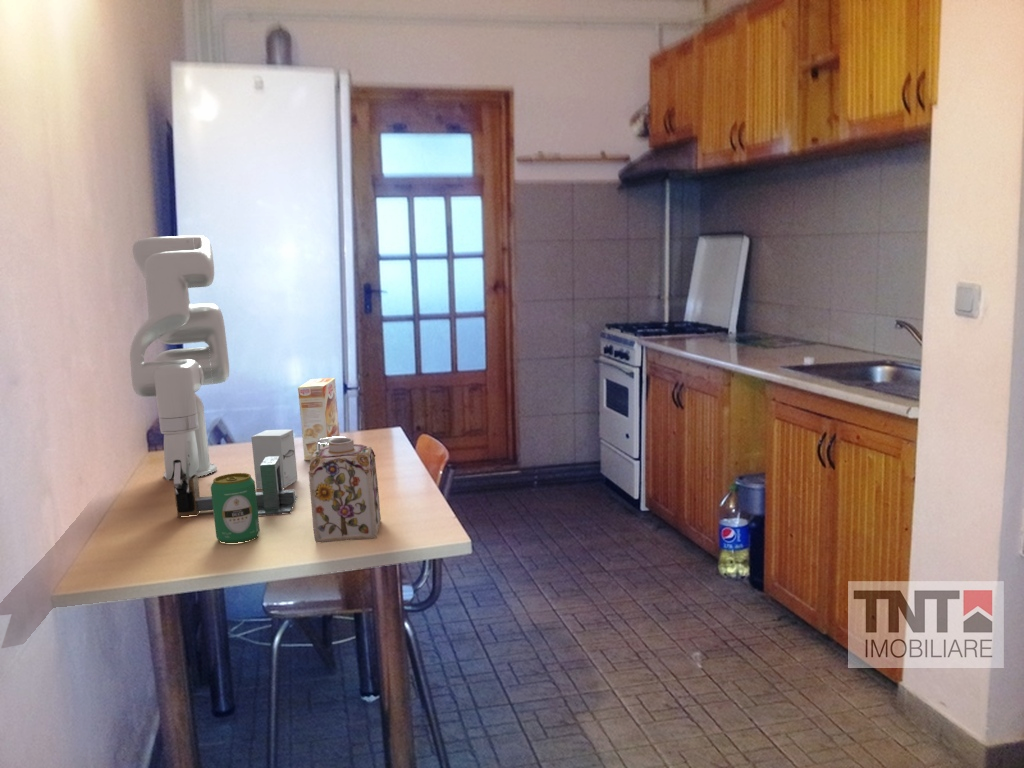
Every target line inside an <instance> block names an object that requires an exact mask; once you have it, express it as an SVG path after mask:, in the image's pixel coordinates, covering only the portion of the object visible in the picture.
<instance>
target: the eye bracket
mask: <svg viewBox="0 0 1024 768" xmlns="http://www.w3.org/2000/svg"><path fill="white" fill-rule="evenodd" d="M260 470H261V480H262V489H261V490H262V492H263V499H264V506H257V509H258V515H266V516H274V515H273V514H277V515H283V514H282V513H288V514H291V513H290V512H292V510H293V508H292V507H294V506H295V503H289V504H280V499H279V490H284V489H283V484H282V474H281V464H280V456H273V457H265V459H264V460H263V462H262V463H261V465H260ZM296 498H298V495H297V494H295V499H296ZM296 500H297V499H296ZM293 505H294V506H293Z"/></svg>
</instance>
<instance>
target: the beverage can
mask: <svg viewBox="0 0 1024 768" xmlns="http://www.w3.org/2000/svg"><path fill="white" fill-rule="evenodd" d="M256 490H257V489H256V480H254V479H253V477H251V474H249V473H247V472H246V473H245V472H237V473H235V472H234V473H228V474H223V475H220V476H217V477H215V478H213V482H212V483H211V486H210V492H211V493H210V494H211V496H212V503H213V510H212V511H213V519H214V521H213V522H214V528H215V536H216V537H215V538H216V539H217V540H218V541H221V542H225V543H238V542H245V541H249V540H252V539H254V538H256V537H257V535H259V533H260V531H261V529H260V521H259V520H260V519H259V516H258V509H257V500H256V492H257V491H256ZM257 538H258V537H257ZM257 538H256V539H257ZM254 540H255V539H254ZM252 541H253V540H252Z"/></svg>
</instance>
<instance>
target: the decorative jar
mask: <svg viewBox="0 0 1024 768" xmlns="http://www.w3.org/2000/svg"><path fill="white" fill-rule="evenodd" d="M309 461H310V463H309V466H308V467H309V468H308V469H309V470H308V473H307V474H308V478H309V479H308V480H309V492H310V493H309V494H310V503H311V505H310V506H311V518H312V528H313V538H314V541H315V542H316V543H317V542H321V543H331V542H341V541H342V542H343V541H345V542H346V541H355V540H356V541H357V540H367V539H376V538H377V537H378V532H379V529H380V526H381V521H382V518H381V508H380V504H381V503H380V495H379V493H380V492H379V484H378V483H379V482H378V475H377V473H378V472H377V466H376V454H375V451H374V450H373V448H372V447H371V446H368V445H365V444H358V443H357V444H355V443H354V439H353V438H350V437H346V438H338V439H332V440H330V441H329V447H327V448H323V449H320V450H317V451H314V453H313V454H312V455H311V460H309Z"/></svg>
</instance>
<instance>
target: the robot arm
mask: <svg viewBox="0 0 1024 768" xmlns="http://www.w3.org/2000/svg"><path fill="white" fill-rule="evenodd" d="M132 256H133V259H134V261H135V263H136V266H137V267H138V270H139V271H140V273H141V274H142V276H143V278H144V280H145V291H146V300H147V301H146V303H147V312H148V317H147V320H146V321H145V322H144V323H143V324H142V326H140V328H139V329H138V330H137V332H136V334H135V335H134V337H133V339H132V342H131V345H130V351H129V362H130V363H129V365H130V377H131V383H132V384H131V385H132V388H133V391H134V393H135V394H136V395H137V396H139V397H141V398H147V399H148V398H156V404H157V405H156V406H157V413H158V421H159V422H158V423H159V430H160V434H162V435H163V456H164V457H163V458H164V460H163V461H164V470H165V471H164V472H163V475H164V478H165V480H167V481H168V482H170V481H172V480H173V481H174V484H173V487H174V486H175V491H176V500H177V508H178V512H179V513H181V512H192V511H194V503H193V494H192V492H190V478H191V477H192V476H193V475H197V476H198V478H200V476H201V477H204V476H203V475H205V476H207V475H206V474H209V473H211V474H213V473H212V472H214V471H215V472H216V471H217V470H218V465H217V464H216V463H212V462H211V461H210V453H209V443H208V441H209V440H208V435H207V425H206V416H205V409H204V408H205V407H204V402H203V401H202V399H201V397H200V396H199V395H198V394H196V392H198V391H200V389H201V387H202V386H209V385H210V386H211V385H218V384H222V383H223V384H224V383H225V382H226V381H227V380H228V378H229V377H230V363H229V360H230V359H229V352H228V343H227V336H226V327H225V320H224V315H223V312H222V311H221V309H220V307H219V306H218V305H216V304H215V303H194V304H193V303H191V302H190V294H189V289H191V288H206V287H210V286H212V283H214V278H215V262H214V254H213V249H212V244H211V242H210V240H209V239H208V238H207V237H205V236H204V235H192V234H191V235H176V236H175V235H174V236H172V235H171V236H168V235H167V236H154V237H153V236H152V237H146V238H140V239H138V240H137V241H135V242H134V243H133V245H132ZM157 340H159V342H160V343H162V344H165V345H183V344H186V345H187V344H197V343H205V344H206V345H207V346H200V347H188V348H187V347H186V348H175V349H169V350H168V349H167V350H165V351H162V352H160V353H159V354H157V356H156V357H155V358H154V361H150V362H149V361H147V362H145V354H146V351H147V349H148V347H150V345H151V344H152V343H153V342H155V341H157ZM215 472H214V473H215ZM209 475H210V474H209ZM182 476H185V478H183V479H182ZM184 481H186V484H185V483H183V482H184Z"/></svg>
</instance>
